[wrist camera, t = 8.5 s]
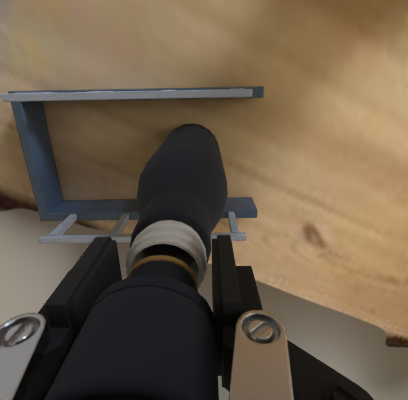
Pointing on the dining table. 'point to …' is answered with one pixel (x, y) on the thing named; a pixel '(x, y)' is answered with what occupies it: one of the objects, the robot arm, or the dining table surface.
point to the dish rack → (100, 209)
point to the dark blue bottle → (157, 288)
